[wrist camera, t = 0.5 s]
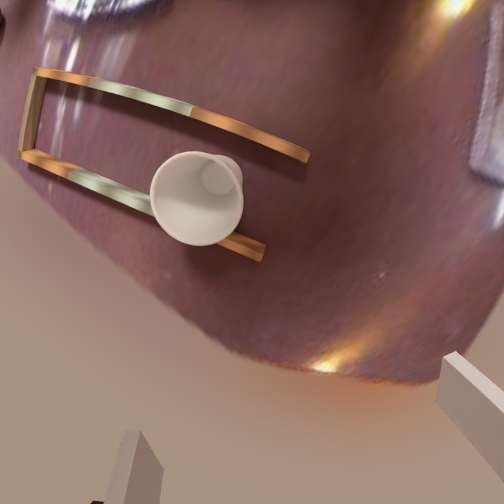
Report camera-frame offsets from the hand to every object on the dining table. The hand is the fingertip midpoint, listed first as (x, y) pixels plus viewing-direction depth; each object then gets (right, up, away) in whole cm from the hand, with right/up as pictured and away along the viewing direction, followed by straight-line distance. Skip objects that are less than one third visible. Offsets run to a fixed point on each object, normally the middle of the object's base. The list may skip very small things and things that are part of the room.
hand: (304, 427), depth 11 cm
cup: (-6, +17, +30) cm, 35 cm away
